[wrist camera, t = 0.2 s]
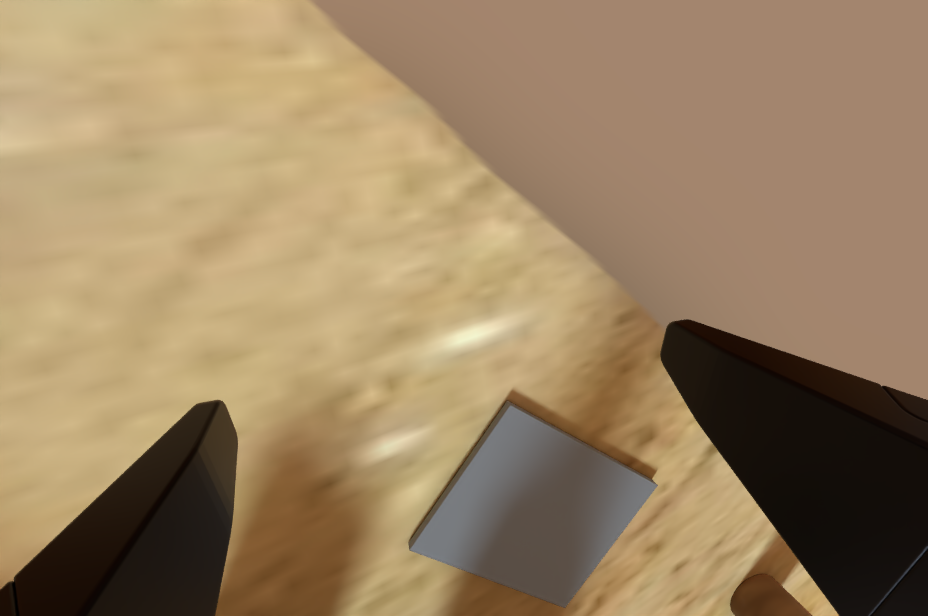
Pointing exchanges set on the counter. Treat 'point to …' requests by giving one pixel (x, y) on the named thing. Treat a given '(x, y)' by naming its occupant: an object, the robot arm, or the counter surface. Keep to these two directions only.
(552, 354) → the counter surface
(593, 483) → the slate mat
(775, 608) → the walnut peg
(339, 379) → the counter surface
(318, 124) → the counter surface
